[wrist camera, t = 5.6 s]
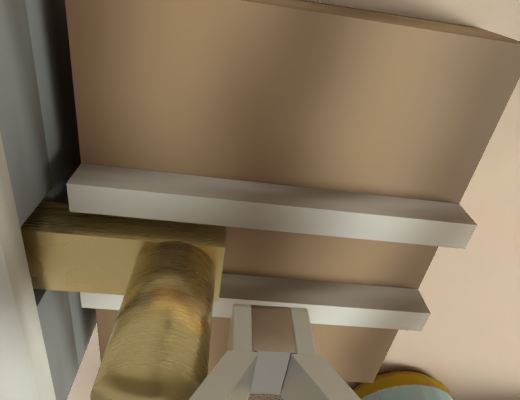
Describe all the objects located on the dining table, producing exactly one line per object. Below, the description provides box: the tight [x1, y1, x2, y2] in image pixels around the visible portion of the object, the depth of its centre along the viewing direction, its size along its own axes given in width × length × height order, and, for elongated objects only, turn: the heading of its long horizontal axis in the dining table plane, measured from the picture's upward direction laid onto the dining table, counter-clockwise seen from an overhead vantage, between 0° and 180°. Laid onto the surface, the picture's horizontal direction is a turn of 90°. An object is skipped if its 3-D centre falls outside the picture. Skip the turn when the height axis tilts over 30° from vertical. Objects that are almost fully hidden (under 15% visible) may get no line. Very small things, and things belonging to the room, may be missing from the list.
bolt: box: [20, 201, 226, 400], centre depth 11 cm, size 9×3×6 cm, turn 82°
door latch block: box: [0, 0, 520, 400], centre depth 14 cm, size 20×16×6 cm
